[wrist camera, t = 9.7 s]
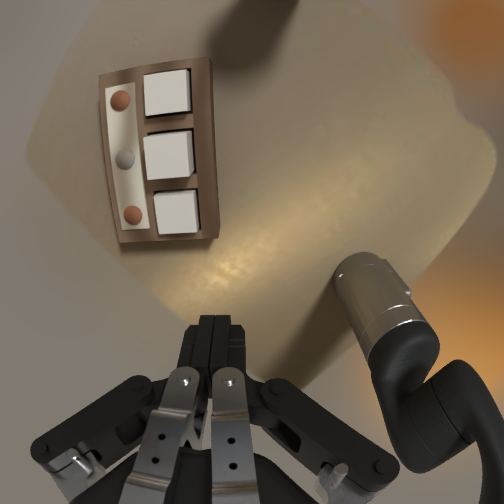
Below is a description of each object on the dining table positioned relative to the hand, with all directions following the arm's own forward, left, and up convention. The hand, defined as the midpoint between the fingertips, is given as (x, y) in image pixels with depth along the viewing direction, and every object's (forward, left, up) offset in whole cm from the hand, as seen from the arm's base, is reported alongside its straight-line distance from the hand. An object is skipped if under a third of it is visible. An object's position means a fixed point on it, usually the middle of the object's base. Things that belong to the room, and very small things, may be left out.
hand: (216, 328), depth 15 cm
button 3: (+7, -13, -27) cm, 30 cm away
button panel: (+9, -6, -28) cm, 30 cm away
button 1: (+7, +2, -27) cm, 28 cm away
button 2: (+7, -6, -25) cm, 27 cm away
